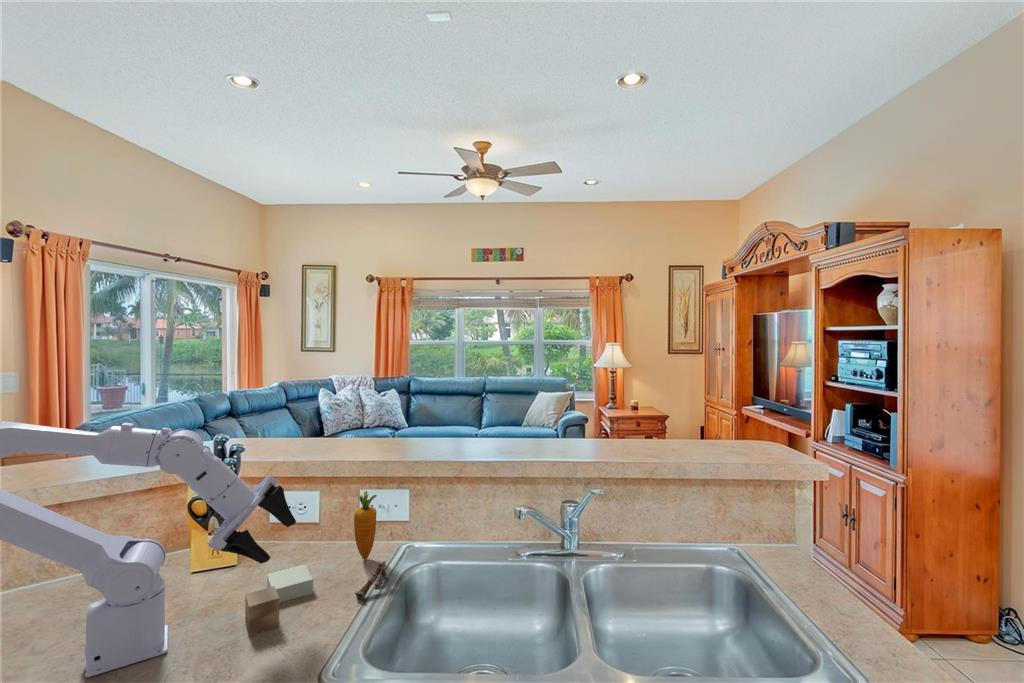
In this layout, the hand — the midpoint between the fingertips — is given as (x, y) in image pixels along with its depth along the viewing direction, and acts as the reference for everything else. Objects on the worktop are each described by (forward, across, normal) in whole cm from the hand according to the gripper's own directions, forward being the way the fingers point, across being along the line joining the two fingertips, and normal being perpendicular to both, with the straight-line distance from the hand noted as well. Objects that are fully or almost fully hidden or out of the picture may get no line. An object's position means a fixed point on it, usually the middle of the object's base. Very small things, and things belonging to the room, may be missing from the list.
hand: (279, 541), depth 83 cm
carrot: (+21, +14, +7) cm, 26 cm away
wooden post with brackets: (+21, +4, -2) cm, 21 cm away
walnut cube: (+8, -9, +6) cm, 13 cm away
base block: (+12, +1, +10) cm, 16 cm away
